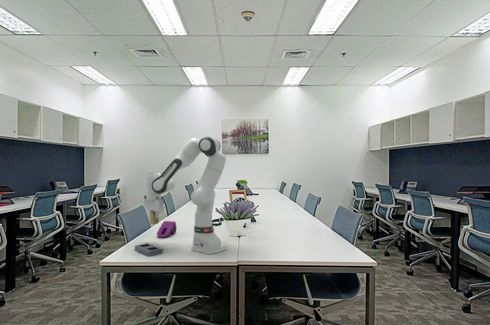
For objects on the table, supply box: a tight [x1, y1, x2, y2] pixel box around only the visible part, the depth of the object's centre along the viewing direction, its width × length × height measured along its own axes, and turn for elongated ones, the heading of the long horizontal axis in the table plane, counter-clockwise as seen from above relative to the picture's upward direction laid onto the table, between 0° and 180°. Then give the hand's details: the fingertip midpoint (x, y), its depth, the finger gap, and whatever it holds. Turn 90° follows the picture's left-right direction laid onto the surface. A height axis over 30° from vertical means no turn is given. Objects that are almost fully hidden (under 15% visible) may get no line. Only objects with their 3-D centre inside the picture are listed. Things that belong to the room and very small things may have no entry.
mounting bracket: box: [156, 220, 177, 239], centre depth 232 cm, size 10×8×18 cm
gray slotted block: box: [134, 242, 164, 257], centre depth 189 cm, size 18×9×3 cm, turn 45°
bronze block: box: [149, 210, 160, 225], centre depth 205 cm, size 4×4×8 cm
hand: (154, 217), depth 205 cm, fingers closed on bronze block, 4 cm apart
